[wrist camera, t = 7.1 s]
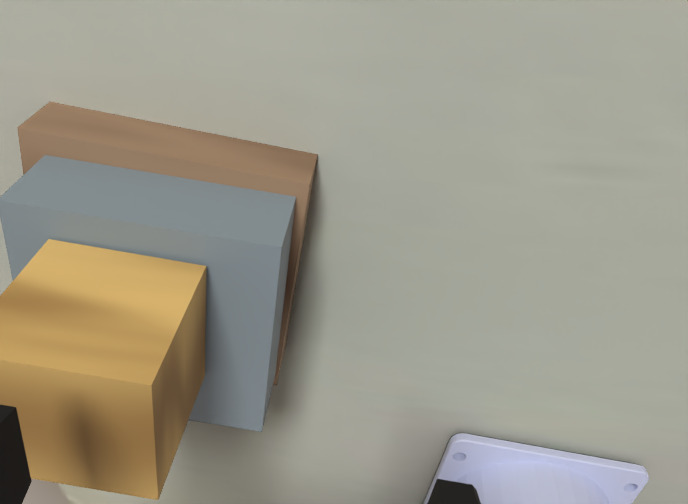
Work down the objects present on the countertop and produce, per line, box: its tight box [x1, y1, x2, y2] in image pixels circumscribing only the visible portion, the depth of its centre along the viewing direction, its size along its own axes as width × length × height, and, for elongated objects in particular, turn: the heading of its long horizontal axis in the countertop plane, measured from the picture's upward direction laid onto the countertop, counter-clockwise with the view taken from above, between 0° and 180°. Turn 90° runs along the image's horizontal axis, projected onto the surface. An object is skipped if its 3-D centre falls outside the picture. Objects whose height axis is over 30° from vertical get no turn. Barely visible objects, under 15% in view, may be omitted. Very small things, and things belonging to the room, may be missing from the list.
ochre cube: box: [0, 239, 206, 500], centre depth 15 cm, size 4×4×4 cm
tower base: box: [17, 102, 317, 385], centre depth 20 cm, size 8×8×2 cm
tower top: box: [0, 155, 296, 432], centre depth 18 cm, size 7×7×2 cm
